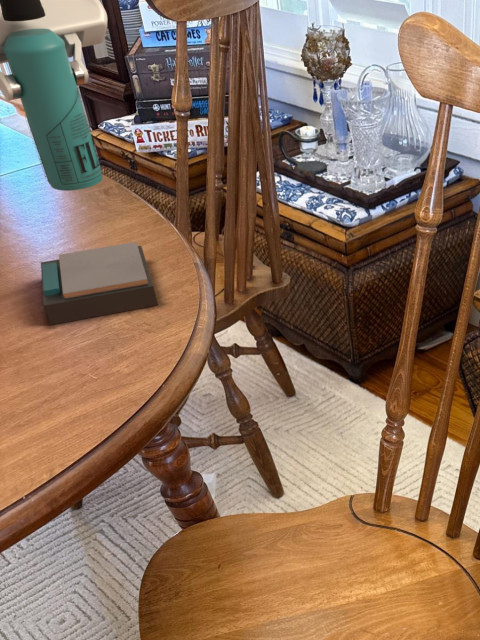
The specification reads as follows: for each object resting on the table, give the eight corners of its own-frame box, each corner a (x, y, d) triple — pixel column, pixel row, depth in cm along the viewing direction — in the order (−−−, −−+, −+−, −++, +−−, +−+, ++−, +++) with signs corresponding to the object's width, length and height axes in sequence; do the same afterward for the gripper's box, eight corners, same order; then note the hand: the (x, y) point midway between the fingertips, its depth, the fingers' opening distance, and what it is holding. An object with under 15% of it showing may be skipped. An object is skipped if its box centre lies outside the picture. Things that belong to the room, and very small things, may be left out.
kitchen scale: (50, 325, 95) (41, 299, 93) (47, 281, 104) (38, 256, 102) (158, 305, 98) (151, 279, 96) (146, 263, 107) (139, 239, 105)
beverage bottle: (93, 205, 90) (31, -2, 77) (41, 203, 91) (-30, -1, 78) (117, 184, 95) (63, -14, 81) (67, 183, 96) (5, -13, 82)
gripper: (-128, -41, 76) (-48, 89, 77) (69, -66, 86) (137, 50, 87) (-120, 8, 81) (-45, 129, 83) (64, -21, 91) (128, 88, 92)
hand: (49, 88), depth 85 cm, fingers closed on beverage bottle, 6 cm apart
